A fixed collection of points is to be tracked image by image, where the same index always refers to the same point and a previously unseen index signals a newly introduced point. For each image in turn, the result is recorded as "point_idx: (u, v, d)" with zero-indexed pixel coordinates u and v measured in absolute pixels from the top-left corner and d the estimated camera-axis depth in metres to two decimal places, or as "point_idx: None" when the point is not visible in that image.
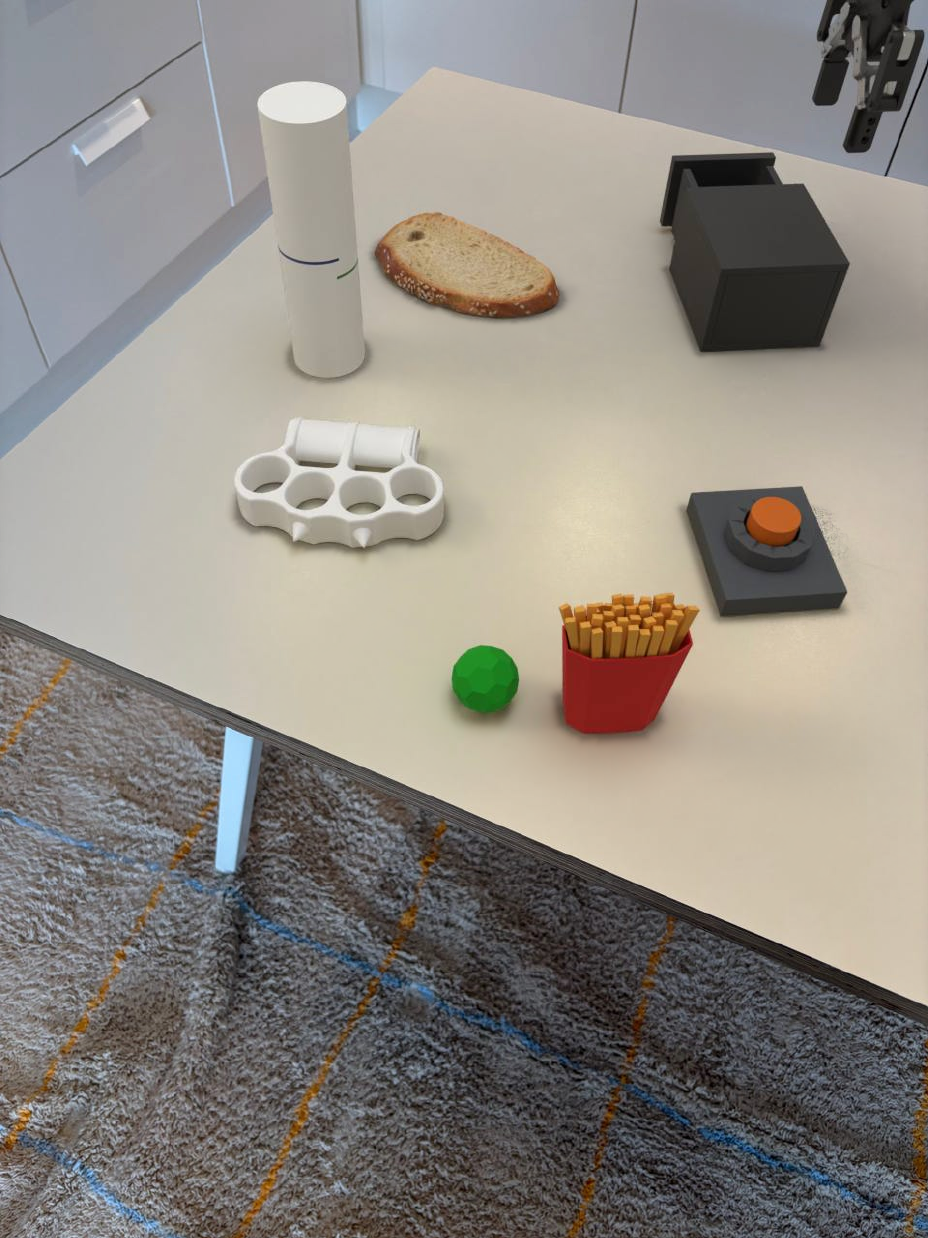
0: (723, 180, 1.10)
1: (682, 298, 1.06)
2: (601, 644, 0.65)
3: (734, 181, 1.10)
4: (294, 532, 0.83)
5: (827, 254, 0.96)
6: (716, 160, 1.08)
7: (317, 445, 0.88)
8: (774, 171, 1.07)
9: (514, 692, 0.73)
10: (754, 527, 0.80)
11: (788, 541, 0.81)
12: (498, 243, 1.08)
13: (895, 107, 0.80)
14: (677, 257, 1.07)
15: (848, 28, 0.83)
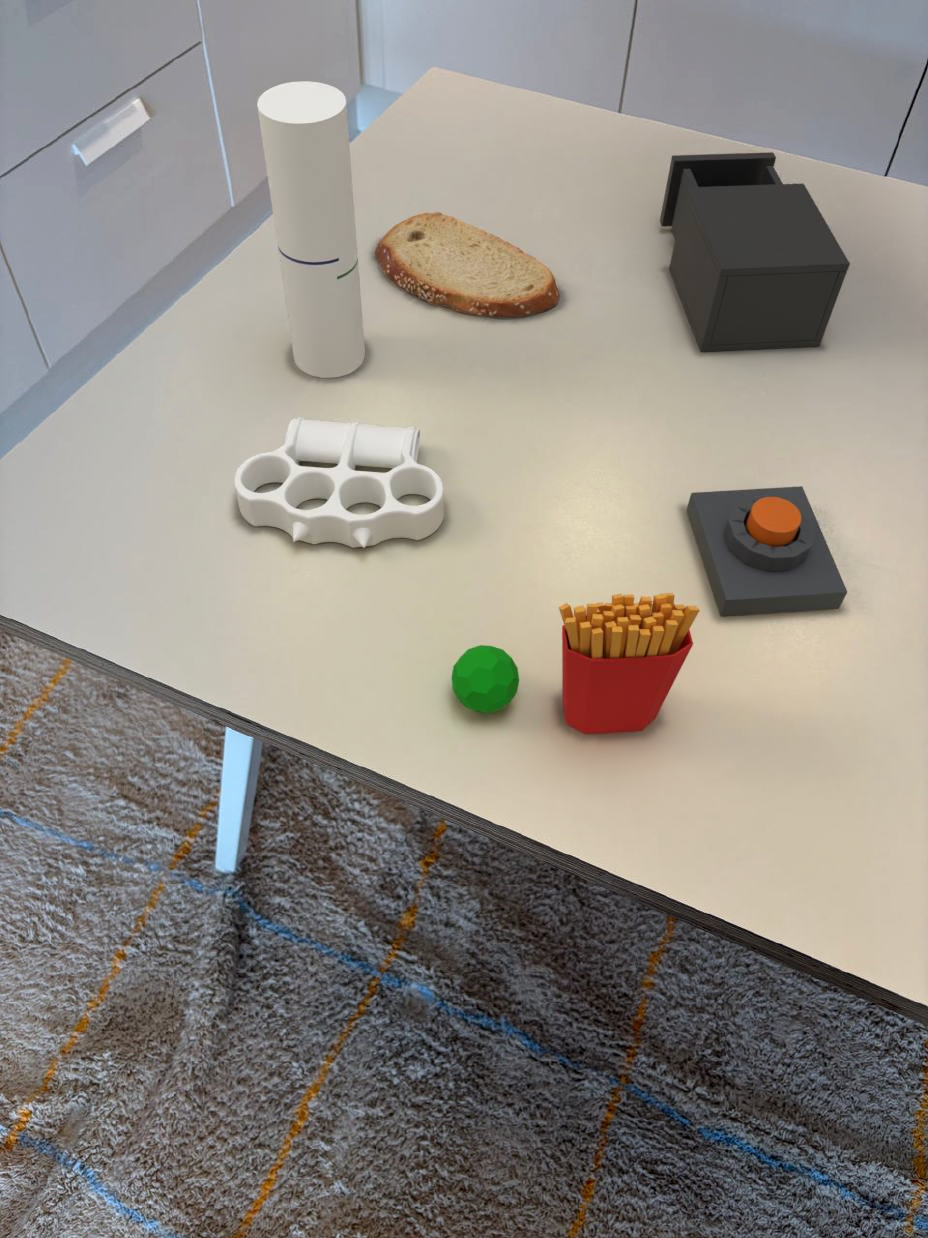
0: (723, 180, 1.10)
1: (682, 298, 1.06)
2: (601, 644, 0.65)
3: (734, 181, 1.10)
4: (294, 532, 0.83)
5: (827, 254, 0.96)
6: (716, 160, 1.08)
7: (317, 445, 0.88)
8: (774, 171, 1.07)
9: (514, 692, 0.73)
10: (754, 527, 0.80)
11: (788, 541, 0.81)
12: (498, 243, 1.08)
13: None
14: (677, 257, 1.07)
15: None
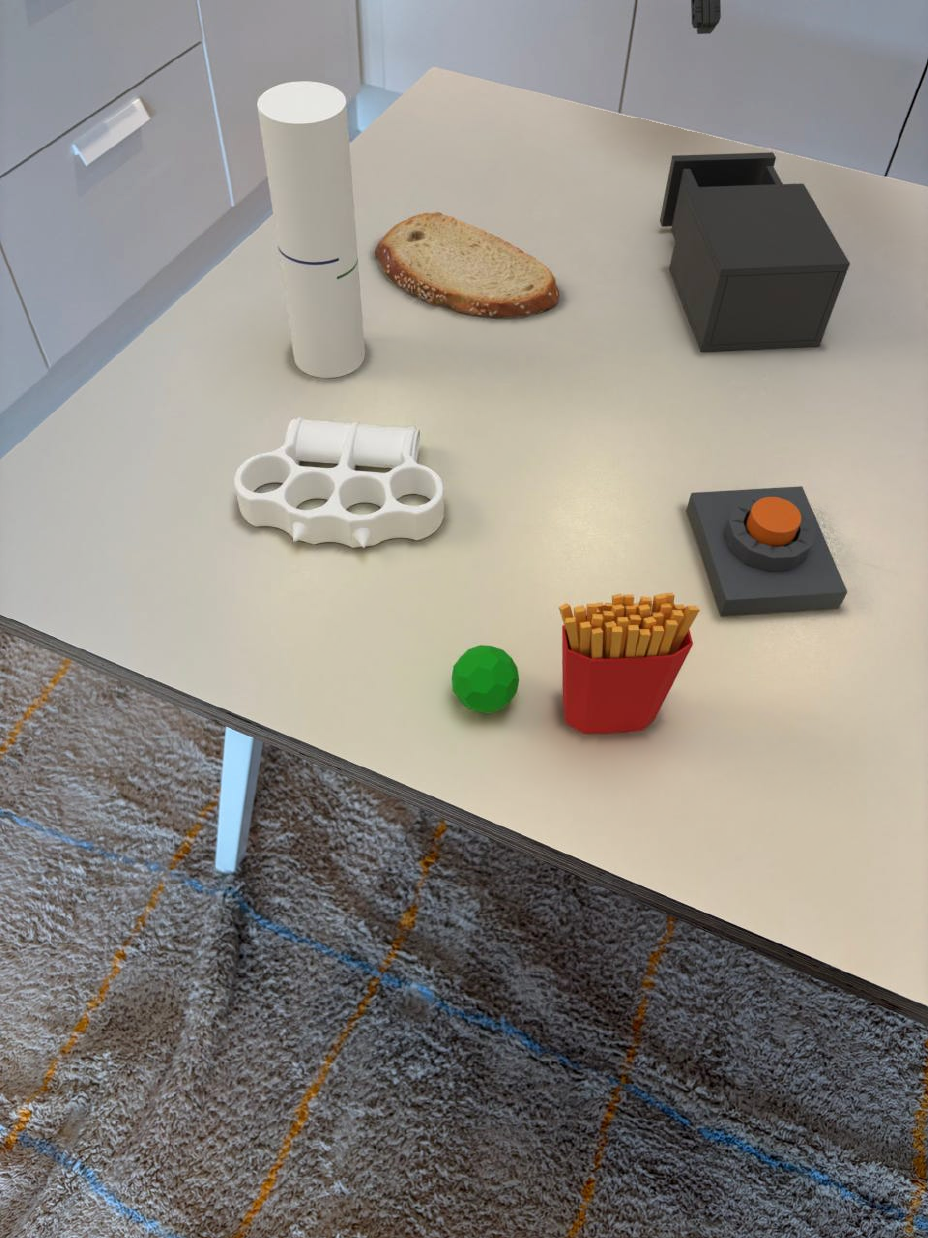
0: (723, 180, 1.10)
1: (682, 298, 1.06)
2: (601, 644, 0.65)
3: (734, 181, 1.10)
4: (294, 532, 0.83)
5: (827, 254, 0.96)
6: (716, 160, 1.08)
7: (317, 445, 0.88)
8: (774, 171, 1.07)
9: (514, 692, 0.73)
10: (754, 527, 0.80)
11: (788, 541, 0.81)
12: (498, 243, 1.08)
13: None
14: (677, 257, 1.07)
15: None
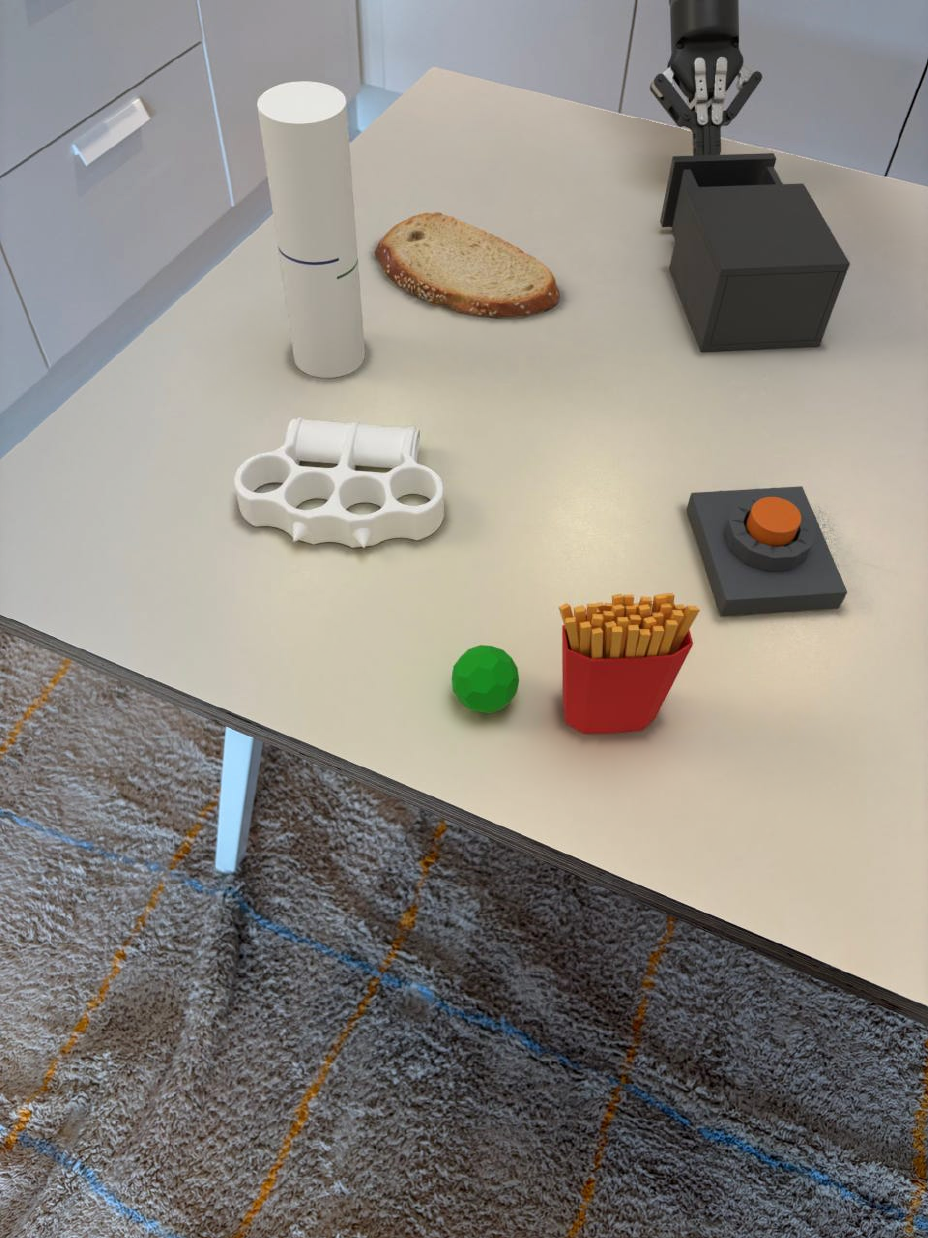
0: (723, 181, 1.10)
1: (682, 298, 1.06)
2: (601, 644, 0.65)
3: (735, 182, 1.10)
4: (294, 532, 0.83)
5: (827, 254, 0.96)
6: (717, 161, 1.08)
7: (317, 445, 0.88)
8: (774, 172, 1.07)
9: (514, 692, 0.73)
10: (754, 527, 0.80)
11: (788, 541, 0.81)
12: (498, 243, 1.08)
13: (681, 116, 1.13)
14: (677, 257, 1.07)
15: None
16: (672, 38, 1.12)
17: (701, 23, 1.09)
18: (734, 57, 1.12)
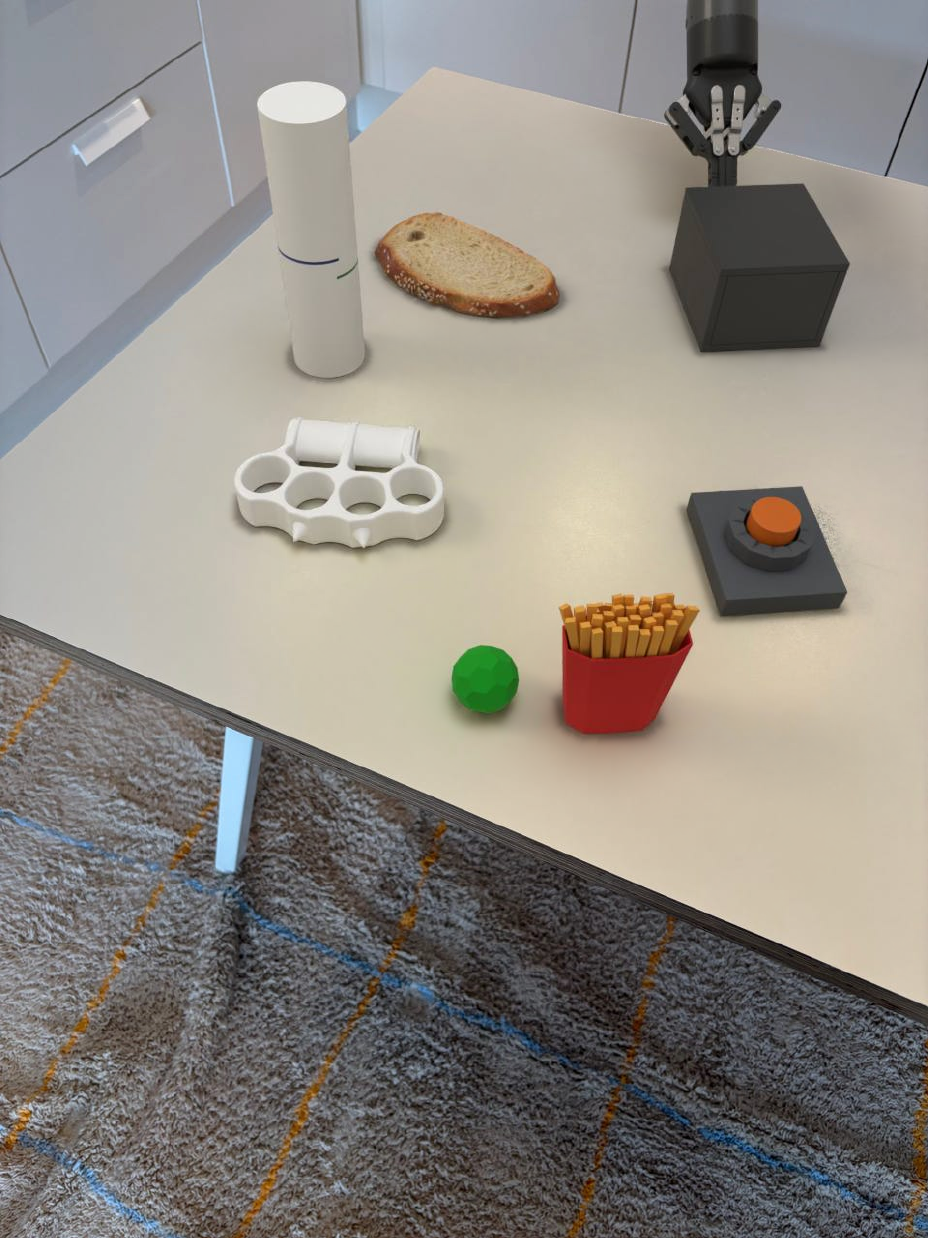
0: None
1: (682, 298, 1.06)
2: (601, 644, 0.65)
3: None
4: (294, 532, 0.83)
5: (827, 254, 0.96)
6: None
7: (317, 445, 0.88)
8: None
9: (514, 692, 0.73)
10: (754, 527, 0.80)
11: (788, 541, 0.81)
12: (498, 243, 1.08)
13: (696, 146, 1.08)
14: (677, 257, 1.07)
15: None
16: (688, 64, 1.08)
17: (719, 50, 1.04)
18: (752, 85, 1.08)
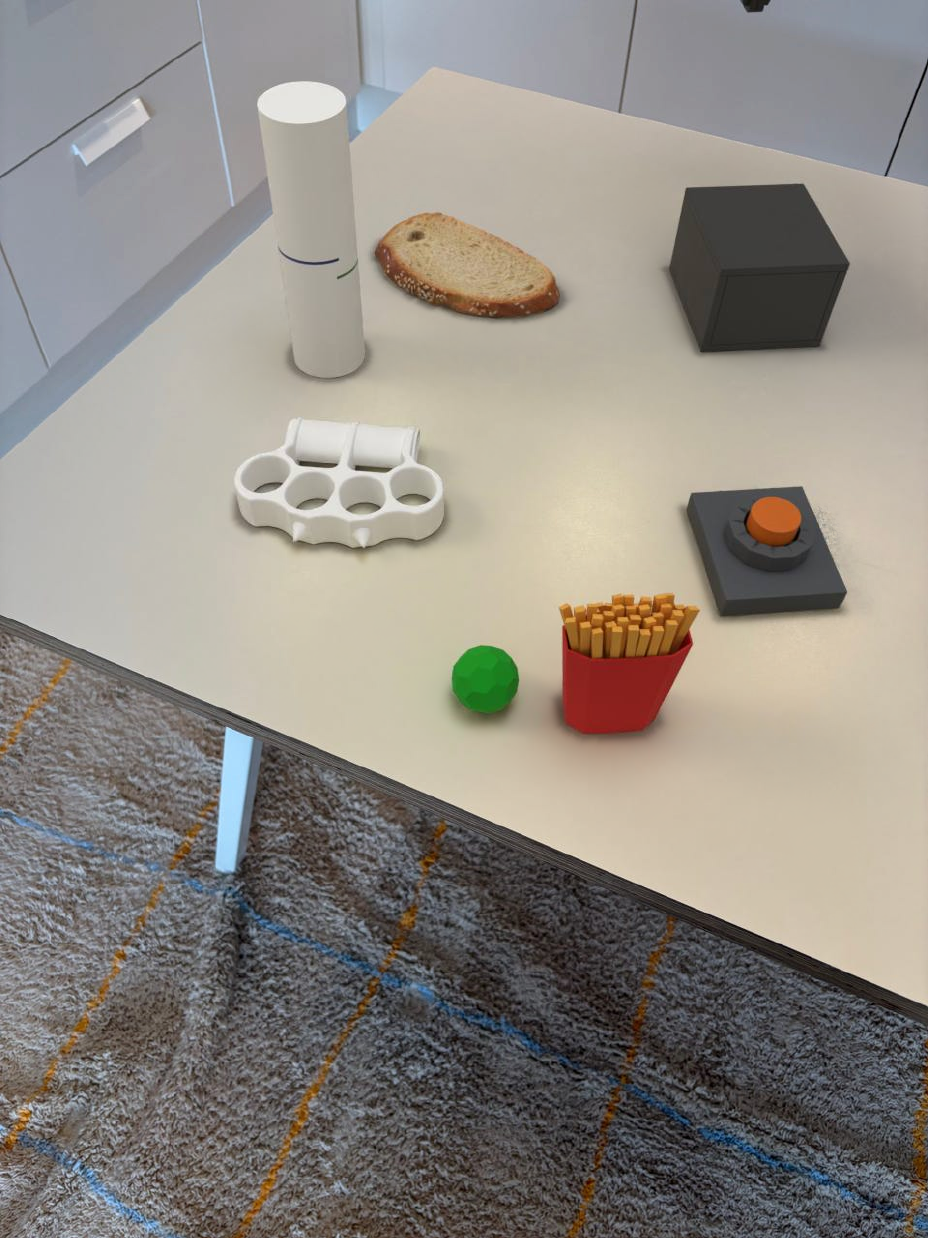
0: None
1: (682, 298, 1.06)
2: (601, 644, 0.65)
3: None
4: (294, 532, 0.83)
5: (827, 254, 0.96)
6: None
7: (317, 445, 0.88)
8: None
9: (514, 692, 0.73)
10: (754, 527, 0.80)
11: (788, 541, 0.81)
12: (498, 243, 1.08)
13: None
14: (677, 257, 1.07)
15: None
16: None
17: None
18: None
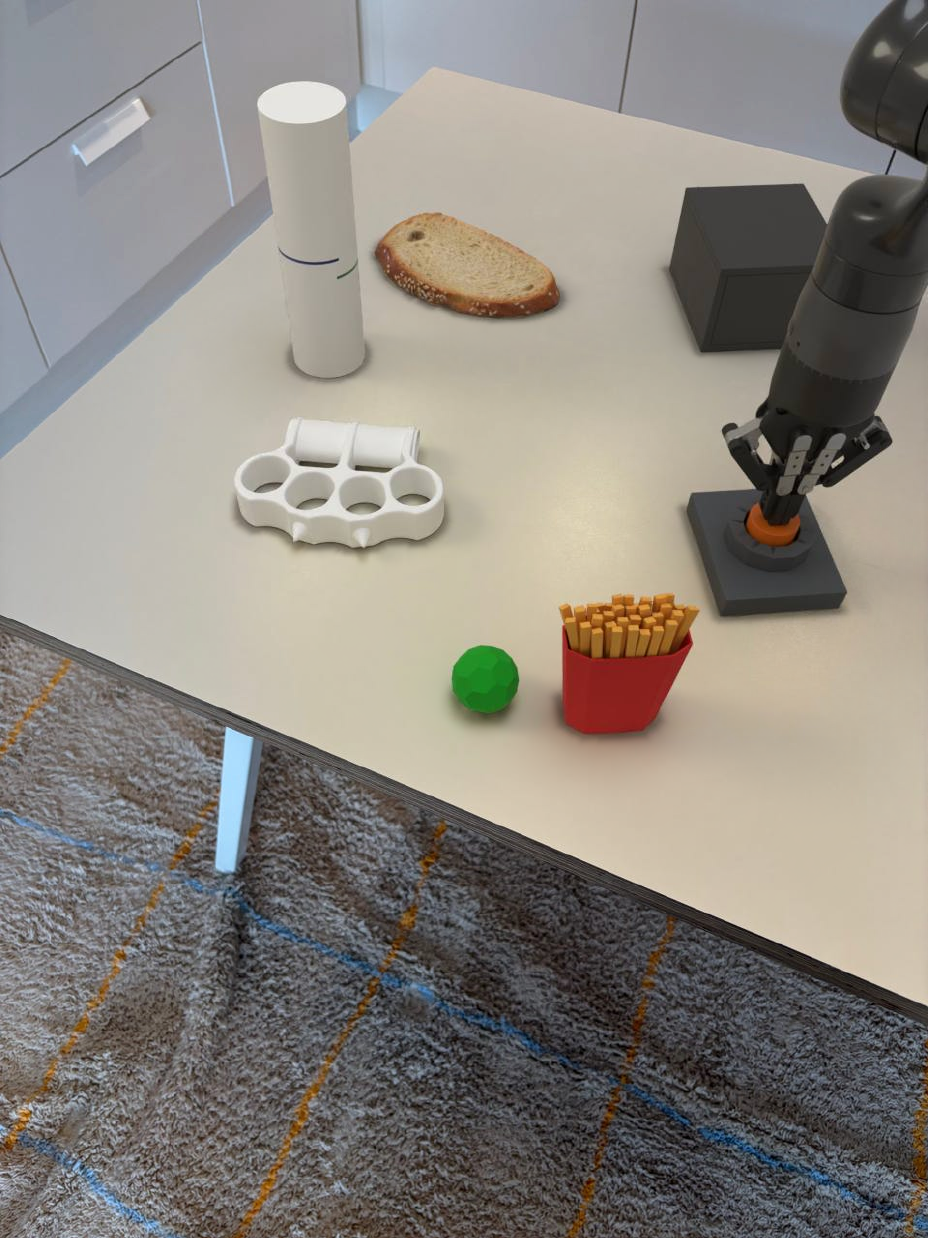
0: None
1: (682, 298, 1.06)
2: (601, 644, 0.65)
3: None
4: (294, 532, 0.83)
5: None
6: None
7: (317, 445, 0.88)
8: None
9: (514, 692, 0.73)
10: (753, 530, 0.81)
11: (787, 544, 0.81)
12: (498, 243, 1.08)
13: None
14: (677, 257, 1.07)
15: None
16: (775, 388, 0.70)
17: (821, 418, 0.68)
18: None
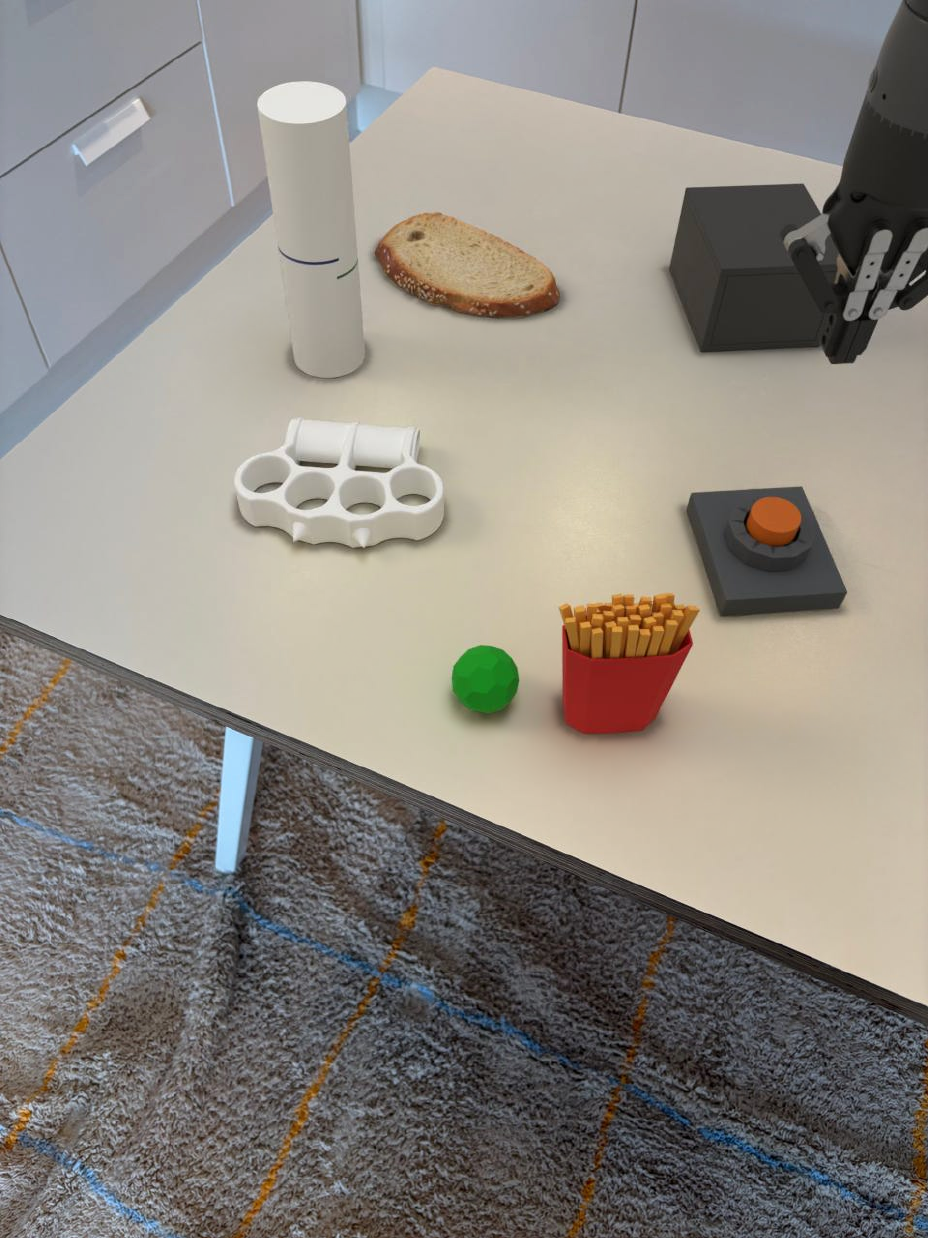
0: None
1: (682, 298, 1.06)
2: (601, 644, 0.65)
3: None
4: (294, 532, 0.83)
5: (827, 254, 0.96)
6: None
7: (317, 445, 0.88)
8: None
9: (514, 692, 0.73)
10: (754, 527, 0.80)
11: (788, 541, 0.81)
12: (498, 243, 1.08)
13: None
14: (677, 257, 1.07)
15: None
16: (849, 168, 0.57)
17: (909, 197, 0.55)
18: None
